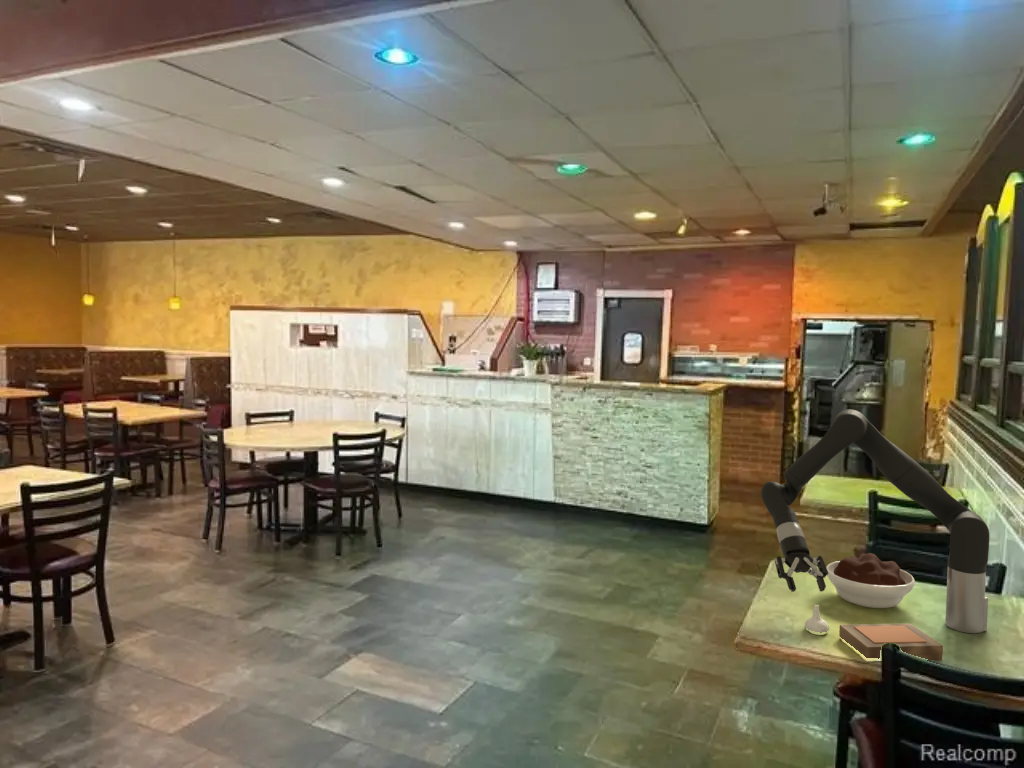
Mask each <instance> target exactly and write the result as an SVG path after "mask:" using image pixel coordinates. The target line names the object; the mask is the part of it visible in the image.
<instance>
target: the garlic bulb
mask: <svg viewBox="0 0 1024 768" xmlns="http://www.w3.org/2000/svg"><path fill="white" fill-rule="evenodd" d="M805 627H806V628H807V629H808V630H811V631H815V632H820V633H822V632H827V631H828V630H829V625H828V622H827V621H826V620H824V619H823V618H822V617H821V614H820V605H819V604H814V607H813V612H812V616H811V617H809V618H807V619H806V620H805V622H804V628H805ZM828 632H829V631H828Z"/></svg>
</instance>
